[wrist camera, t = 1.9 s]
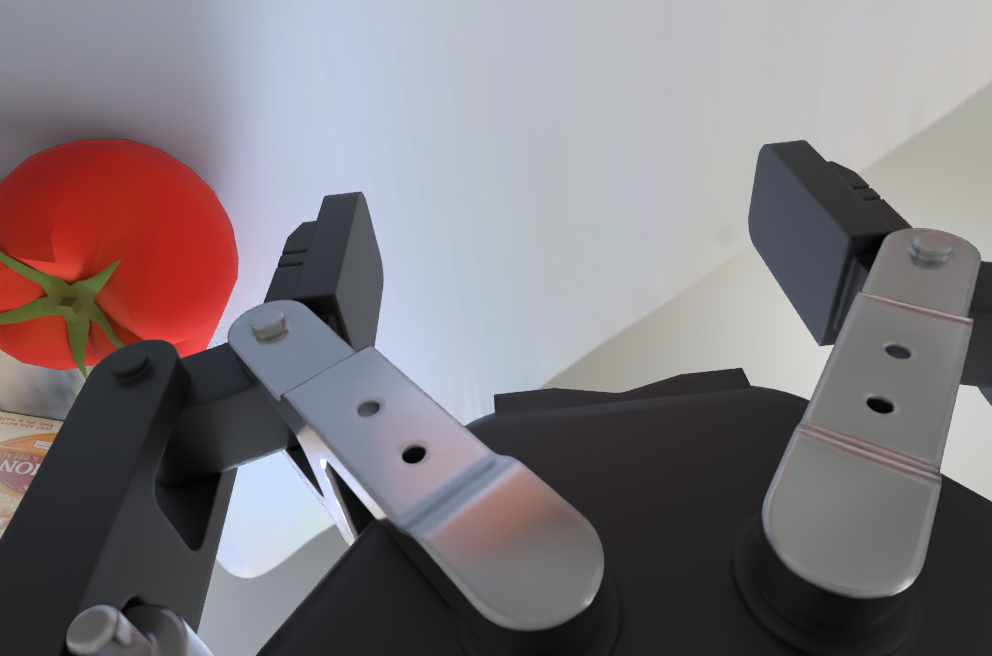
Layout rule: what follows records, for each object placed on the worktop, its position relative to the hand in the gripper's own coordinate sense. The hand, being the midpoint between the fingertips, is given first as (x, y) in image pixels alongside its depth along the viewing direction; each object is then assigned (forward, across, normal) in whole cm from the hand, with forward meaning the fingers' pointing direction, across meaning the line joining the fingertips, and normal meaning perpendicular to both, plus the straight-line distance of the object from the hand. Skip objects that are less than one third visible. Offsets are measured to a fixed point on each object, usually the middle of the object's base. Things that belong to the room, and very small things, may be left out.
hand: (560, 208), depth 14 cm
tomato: (+26, +24, +12) cm, 37 cm away
